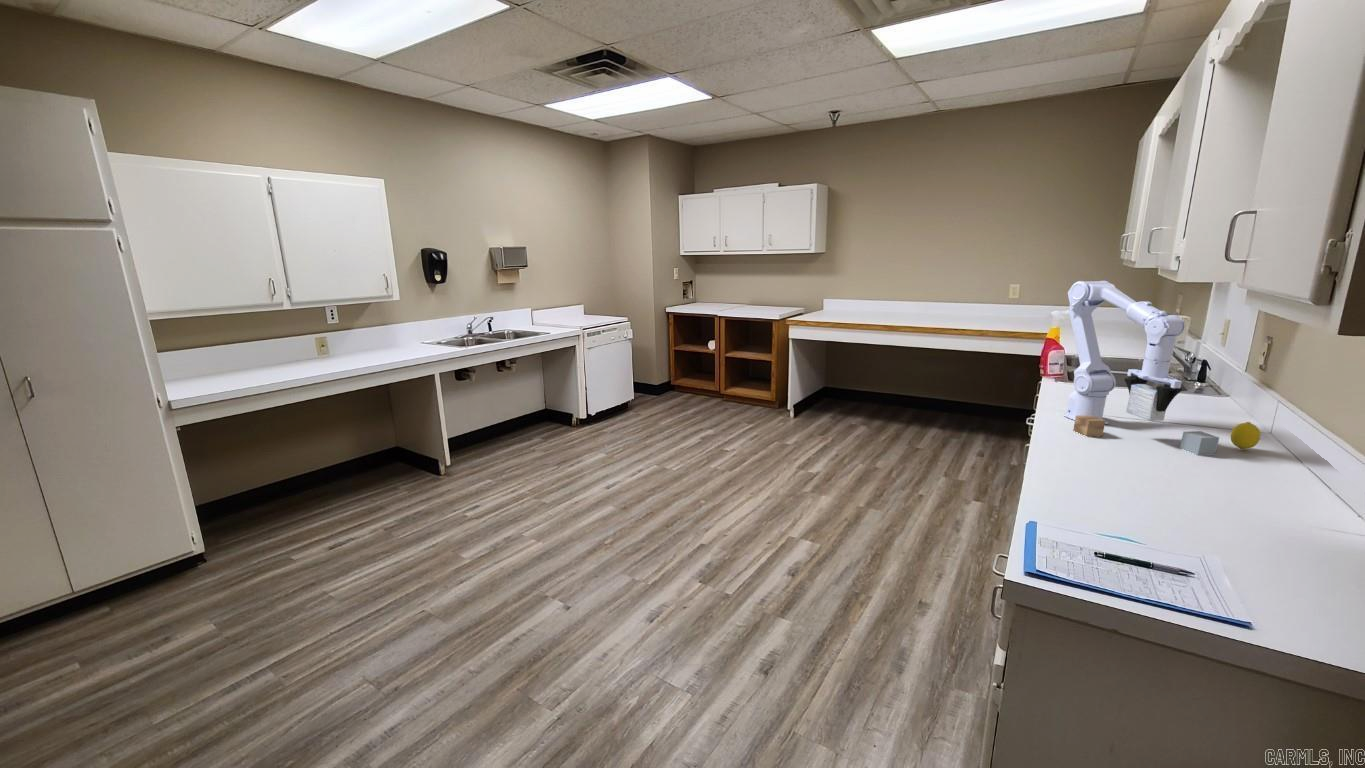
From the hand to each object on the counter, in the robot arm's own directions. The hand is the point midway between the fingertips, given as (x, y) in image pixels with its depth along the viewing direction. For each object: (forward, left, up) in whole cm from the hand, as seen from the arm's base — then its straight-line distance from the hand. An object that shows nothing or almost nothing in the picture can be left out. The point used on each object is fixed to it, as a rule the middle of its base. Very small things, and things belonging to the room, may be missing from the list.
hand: (1147, 406), depth 155 cm
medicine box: (0, 0, -3) cm, 3 cm away
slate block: (+10, +7, -10) cm, 16 cm away
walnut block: (-6, -11, -10) cm, 16 cm away
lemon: (+10, +20, -10) cm, 25 cm away
